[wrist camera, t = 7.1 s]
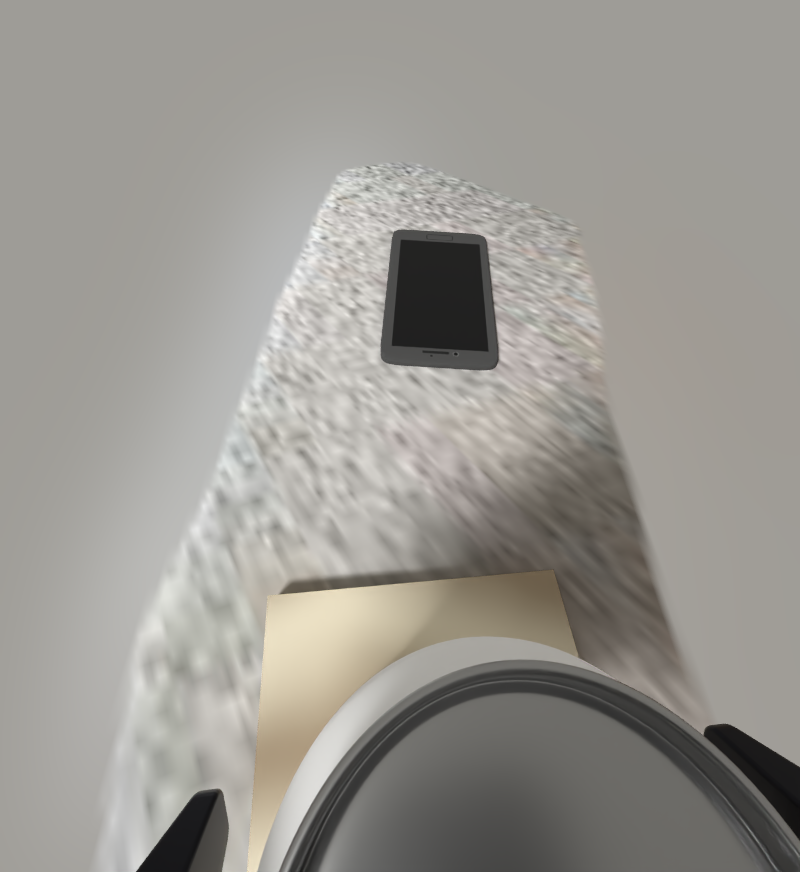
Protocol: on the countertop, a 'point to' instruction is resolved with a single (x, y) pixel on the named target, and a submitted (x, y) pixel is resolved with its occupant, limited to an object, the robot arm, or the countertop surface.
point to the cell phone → (439, 302)
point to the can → (517, 776)
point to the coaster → (373, 656)
